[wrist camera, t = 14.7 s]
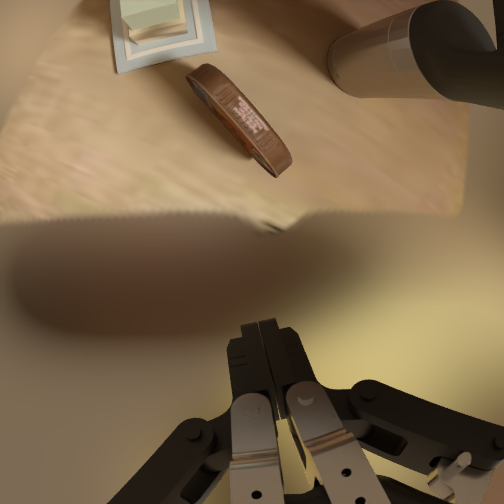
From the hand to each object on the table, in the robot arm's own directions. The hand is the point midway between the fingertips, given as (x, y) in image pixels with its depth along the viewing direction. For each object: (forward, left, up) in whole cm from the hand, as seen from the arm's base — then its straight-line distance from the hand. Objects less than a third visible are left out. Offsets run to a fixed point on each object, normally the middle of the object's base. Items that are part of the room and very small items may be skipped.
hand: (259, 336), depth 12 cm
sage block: (+4, -23, -22) cm, 32 cm away
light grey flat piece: (+4, -23, -27) cm, 36 cm away
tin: (-3, -8, -27) cm, 29 cm away
